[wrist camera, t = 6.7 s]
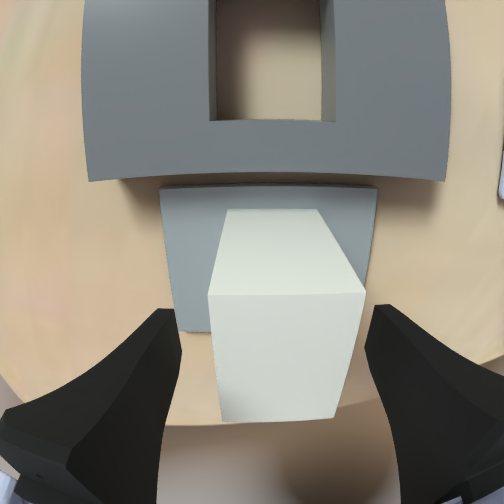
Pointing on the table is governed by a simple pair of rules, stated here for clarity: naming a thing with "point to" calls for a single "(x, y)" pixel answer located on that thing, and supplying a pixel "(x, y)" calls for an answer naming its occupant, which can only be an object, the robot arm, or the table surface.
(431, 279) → the table surface
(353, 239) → the mat
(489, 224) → the table surface
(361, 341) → the table surface
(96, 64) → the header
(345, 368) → the plug
